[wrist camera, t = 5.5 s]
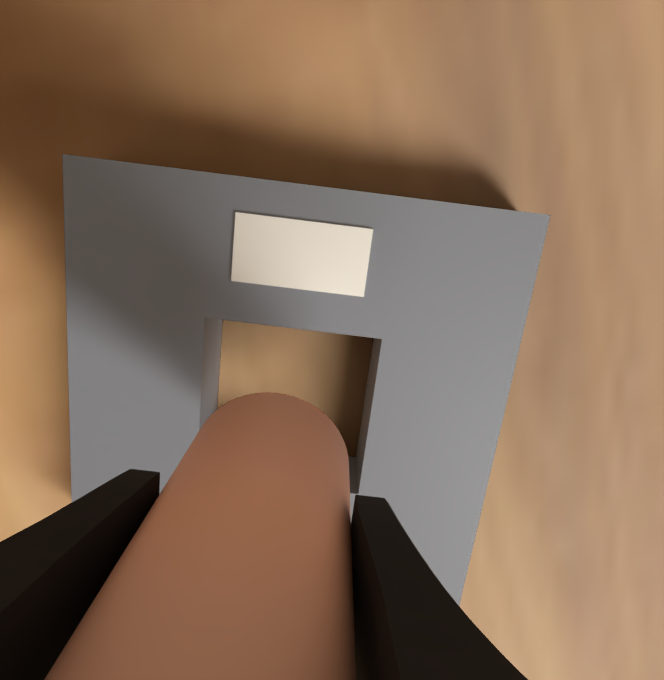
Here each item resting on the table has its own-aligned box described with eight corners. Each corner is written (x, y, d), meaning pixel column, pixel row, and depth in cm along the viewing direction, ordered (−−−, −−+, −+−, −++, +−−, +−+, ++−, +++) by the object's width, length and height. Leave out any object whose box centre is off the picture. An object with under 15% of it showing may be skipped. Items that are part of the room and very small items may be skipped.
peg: (189, 523, 13) (-37, 1001, 5) (195, 383, 12) (-78, 722, 4) (338, 540, 13) (336, 1037, 5) (358, 402, 12) (393, 774, 4)
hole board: (105, 522, 20) (72, 568, 17) (104, 161, 16) (60, 153, 14) (444, 560, 20) (459, 611, 18) (519, 214, 16) (551, 214, 14)
